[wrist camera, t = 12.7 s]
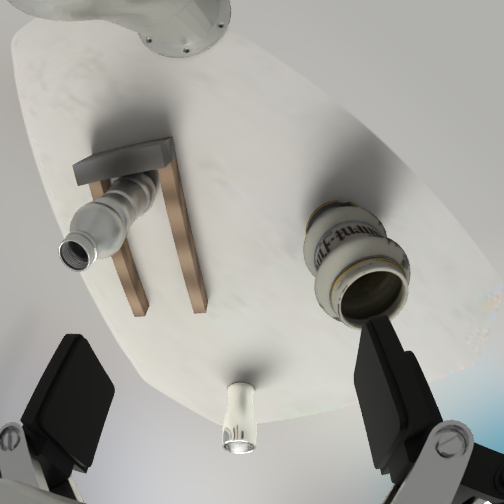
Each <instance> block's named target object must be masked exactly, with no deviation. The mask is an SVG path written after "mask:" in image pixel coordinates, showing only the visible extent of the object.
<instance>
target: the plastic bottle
mask: <svg viewBox="0 0 504 504" xmlns="http://www.w3.org/2000/svg"><path fill="white" fill-rule="evenodd" d="M155 196H156V188H155V185H154V183H153V181H152V180H151V178H150V177H149V176H147V175H146V174H144V173H142V172H139V173H134V174H129V175H124V176H119V177H118V178H117V179H116V180H115V181H114V182H113V184H112V185H111V187H110V188H109V190H108V191H107V192H106V193H105V194H103V195H102V196H101V197H99V198H98V199H96V200H94V201H92V202H90V203H88V204H86V205H84V206H83V207H81V208H80V209H78V210H77V212H76V213H75V215H74V216H73V219H72V221H71V224H70V233H69V234H68V235H67V236H66V238H65V239H64V240H63V241H62V243H61V244H60V246H59V256H60V259H61V261H62V262H63V263H64V265H65V266H66V267H68V268H69V269H71V270H73V271H77V272H81V271H84V270H86V269H87V268H88V267H89V266H90V265H91V264H92V263H93V262H94V261H95V260H96V259H104V258H108V257H109V256H111V255H113V254H115V253H116V252H117V251H118V250H119V249H120V247H121V246H122V244H123V242H124V239H125V237H126V235H127V232H128V230H129V229H130V227H131V225H132V224H133V222H134V221H135V220H136V219H137V218H138V217H139V216H141V215H143V214H144V213H146V212H147V211H148V210H149V209H150V208H151V207H152V205H153V203H154V200H155Z"/></svg>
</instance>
